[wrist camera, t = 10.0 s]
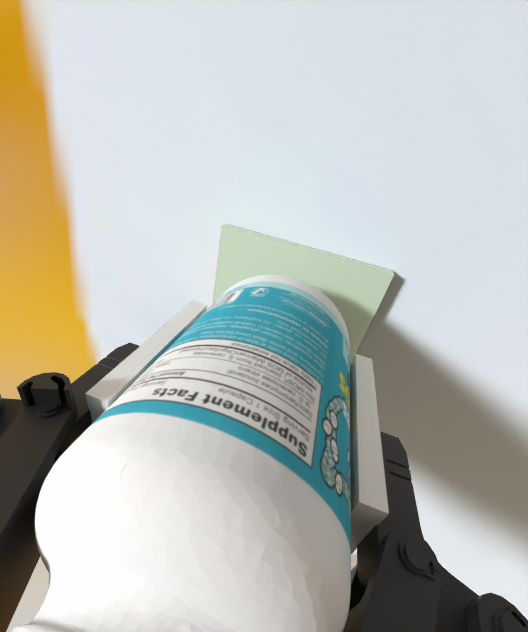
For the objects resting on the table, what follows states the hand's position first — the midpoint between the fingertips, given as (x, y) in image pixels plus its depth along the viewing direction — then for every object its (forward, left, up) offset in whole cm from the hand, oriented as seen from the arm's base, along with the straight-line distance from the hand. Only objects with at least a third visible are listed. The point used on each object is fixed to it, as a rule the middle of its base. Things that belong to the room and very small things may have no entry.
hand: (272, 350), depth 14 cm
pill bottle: (0, 0, -2) cm, 2 cm away
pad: (0, 0, -4) cm, 4 cm away
